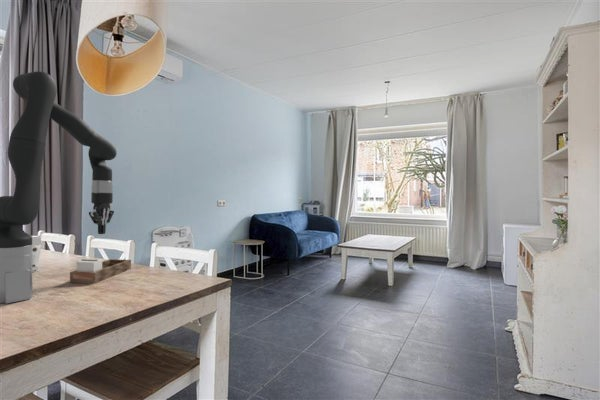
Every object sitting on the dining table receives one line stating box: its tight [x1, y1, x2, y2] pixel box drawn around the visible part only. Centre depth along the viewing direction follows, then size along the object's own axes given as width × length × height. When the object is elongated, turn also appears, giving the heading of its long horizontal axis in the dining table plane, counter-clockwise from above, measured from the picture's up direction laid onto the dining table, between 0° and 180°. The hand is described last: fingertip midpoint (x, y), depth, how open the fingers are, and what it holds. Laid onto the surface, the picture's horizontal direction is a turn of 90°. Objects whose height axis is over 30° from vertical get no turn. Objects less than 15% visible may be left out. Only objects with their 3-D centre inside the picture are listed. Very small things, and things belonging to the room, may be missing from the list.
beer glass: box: [30, 235, 42, 273], centre depth 143 cm, size 7×7×15 cm
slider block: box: [76, 258, 103, 272], centre depth 131 cm, size 5×7×6 cm
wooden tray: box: [69, 258, 132, 284], centre depth 139 cm, size 24×10×4 cm, turn 177°
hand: (101, 233), depth 137 cm, fingers closed
